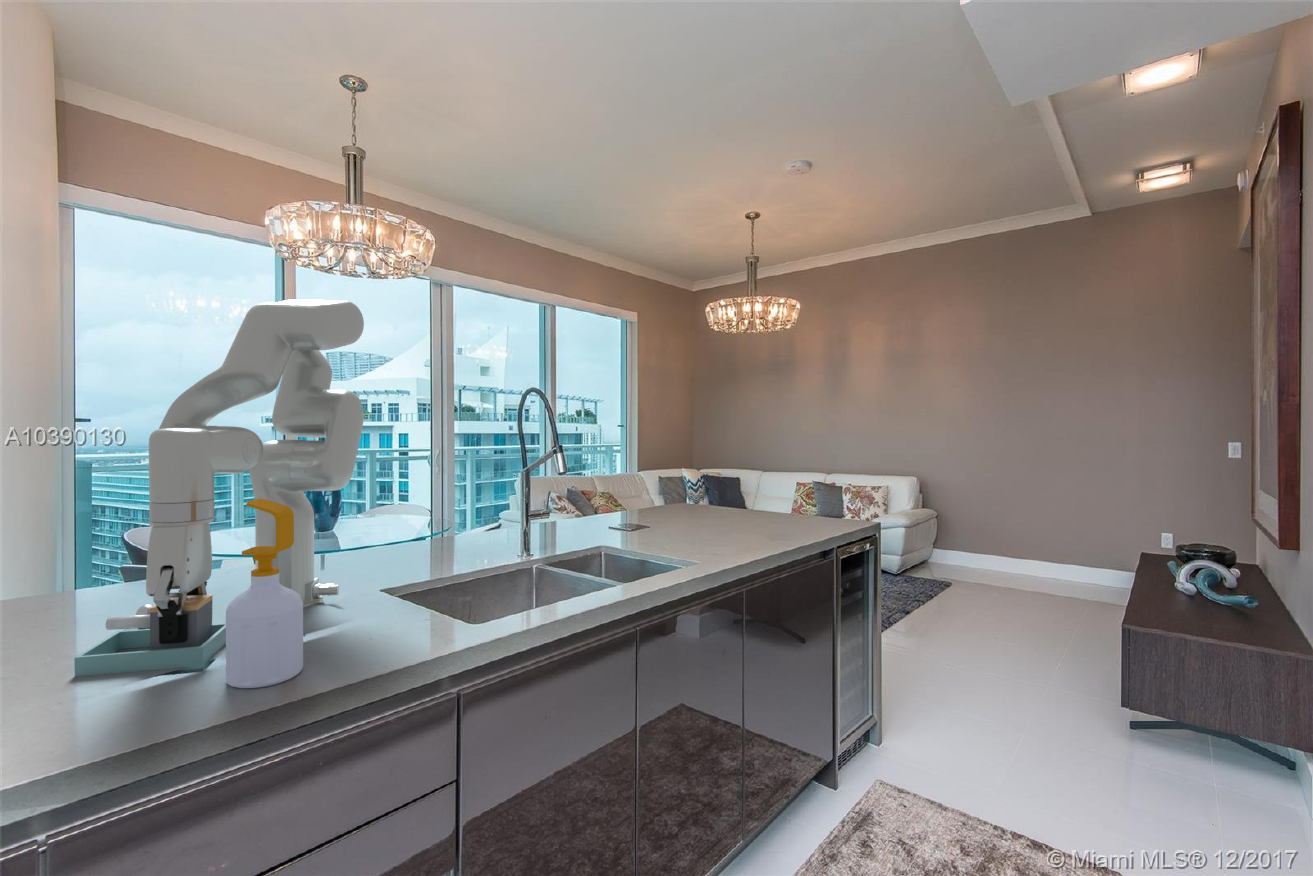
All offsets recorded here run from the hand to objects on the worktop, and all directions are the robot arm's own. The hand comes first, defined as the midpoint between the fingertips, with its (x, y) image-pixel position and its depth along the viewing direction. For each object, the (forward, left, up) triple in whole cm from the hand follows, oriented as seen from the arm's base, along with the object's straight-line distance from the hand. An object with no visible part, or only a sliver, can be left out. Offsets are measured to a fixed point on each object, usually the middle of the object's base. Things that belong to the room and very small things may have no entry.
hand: (183, 633), depth 90 cm
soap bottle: (-13, +9, -4) cm, 16 cm away
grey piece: (+9, -11, -4) cm, 15 cm away
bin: (+3, 0, -4) cm, 5 cm away
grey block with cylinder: (+3, 0, -1) cm, 3 cm away
